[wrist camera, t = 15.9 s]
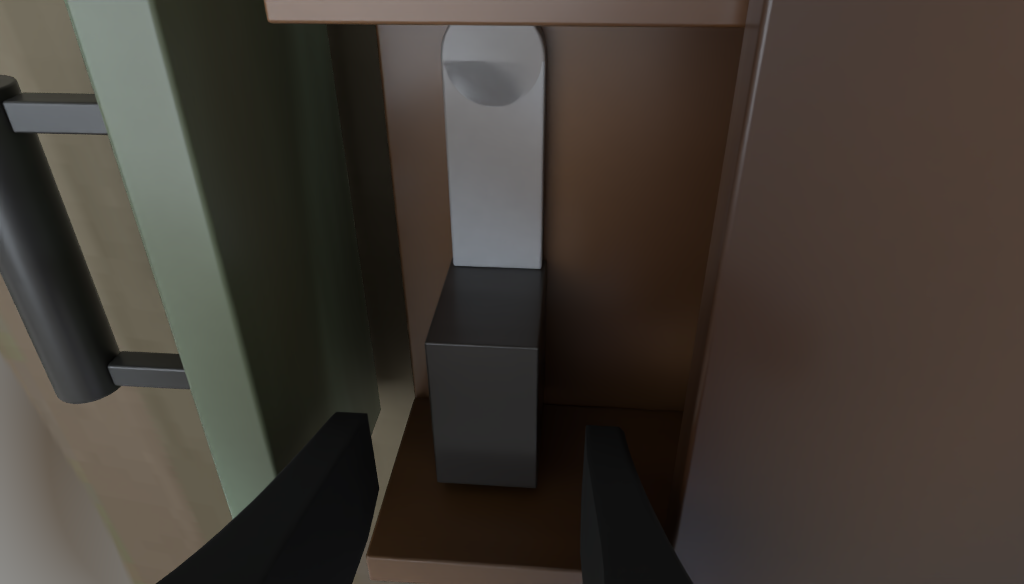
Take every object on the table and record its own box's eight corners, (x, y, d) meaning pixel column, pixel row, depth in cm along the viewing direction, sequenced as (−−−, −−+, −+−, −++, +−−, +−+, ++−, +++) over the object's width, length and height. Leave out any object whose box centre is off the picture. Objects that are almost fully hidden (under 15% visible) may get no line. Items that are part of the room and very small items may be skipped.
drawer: (165, 398, 21) (24, 584, 16) (-18, -125, 14) (-393, -108, 9) (817, 432, 20) (905, 650, 14) (986, -132, 12) (1289, -119, 7)
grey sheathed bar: (544, 388, 18) (536, 489, 15) (459, 383, 18) (436, 482, 15) (553, -3, 13) (544, 38, 10) (436, -4, 13) (395, 37, 10)
